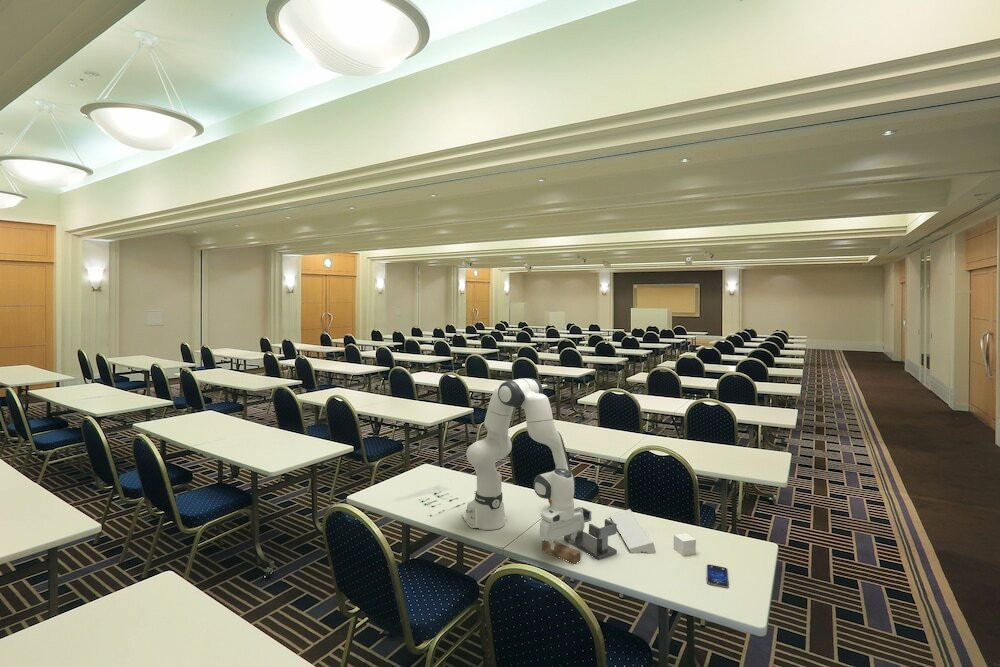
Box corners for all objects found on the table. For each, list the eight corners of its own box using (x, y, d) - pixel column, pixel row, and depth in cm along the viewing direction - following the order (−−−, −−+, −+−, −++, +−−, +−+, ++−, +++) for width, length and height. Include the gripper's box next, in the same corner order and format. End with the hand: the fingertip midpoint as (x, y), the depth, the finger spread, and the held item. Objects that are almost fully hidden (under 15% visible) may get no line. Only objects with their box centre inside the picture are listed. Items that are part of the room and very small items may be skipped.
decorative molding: (632, 560, 205) (656, 553, 205) (629, 548, 205) (653, 542, 205) (611, 524, 239) (632, 518, 239) (609, 514, 239) (629, 509, 239)
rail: (542, 550, 206) (542, 541, 206) (548, 547, 209) (548, 538, 209) (574, 565, 195) (574, 555, 195) (580, 561, 198) (580, 551, 197)
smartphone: (727, 567, 193) (729, 587, 179) (727, 570, 193) (729, 590, 179) (706, 563, 196) (706, 582, 182) (706, 565, 196) (706, 585, 182)
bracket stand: (563, 539, 216) (564, 511, 215) (581, 534, 221) (582, 506, 221) (598, 560, 199) (598, 529, 198) (616, 553, 204) (617, 524, 203)
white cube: (685, 547, 210) (686, 533, 210) (695, 554, 205) (696, 539, 204) (673, 549, 209) (673, 534, 208) (682, 556, 203) (683, 541, 203)
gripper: (577, 503, 209) (577, 536, 210) (537, 514, 198) (537, 549, 199) (588, 508, 204) (587, 542, 205) (547, 519, 193) (547, 555, 193)
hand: (562, 546), depth 202 cm, fingers open, 8 cm apart
